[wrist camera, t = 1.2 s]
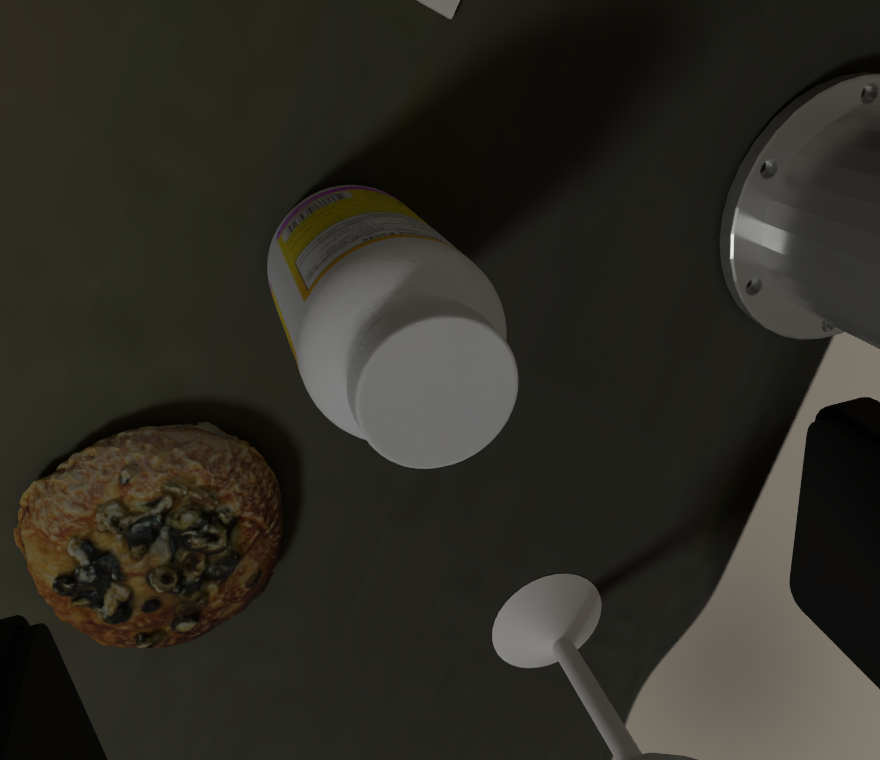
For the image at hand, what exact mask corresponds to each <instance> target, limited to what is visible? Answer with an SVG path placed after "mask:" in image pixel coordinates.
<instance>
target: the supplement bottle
mask: <svg viewBox="0 0 880 760" xmlns="http://www.w3.org/2000/svg"><path fill="white" fill-rule="evenodd" d="M267 270H268V281H269V285H270V290H271V293H272V297H273V299H274V302H275V305H276V308H277V311H278V313H279V316H280V318H281V321H282V324H283V327H284V330H285V332H286V335H287V338H288V340H289V343H290V346H291V348H292V351H293V354H294V357H295V360H296V363H297V366H298V369H299V372H300V374H301V377H302V379H303V382H304V384H305V387H306V389H307V391H308V393H309V395H310V396H311V398H312V400H313V401H314V403H315V404H316V406H317V407H318V408H319V409H320V410H321V412H322V413H323V414H324V415H325V416H326V417H327V418H328V419H329V420H330V421H332V422H333V423H334V424H335V425H337V426H338V427H340V428H341V429H343V430H344V431H346V432H348V433H350V434H352V435H354V436H357V437H359V438H362V439H365V440H367V441H368V443H369V444H370V445H371V446H372V447H373V448H374V449H375V450H376V451H377V452H378V453H379V454H381V455H382V456H383V457H385V458H387V459H388V460H390V461H392V462H395V463H397V464H399V465H402V466H406V467H411V468H421V469H429V468H438V467H443V466H448V465H452V464H455V463H458V462H460V461H463V460H465V459H467V458H469V457H471V456H472V455H474V454H475V453H477V452H479V451H480V450H481V449H483V448H484V447H485V446H486V445H488V444H489V443H490V442H491V441H492V440H493V439H494V438H495V437H496V435H497V434H498V433H499V432H500V430H501V429H502V428H503V426H504V425H505V423H506V422H507V420H508V418H509V416H510V414H511V412H512V410H513V407H514V404H515V401H516V397H517V391H518V371H517V365H516V361H515V358H514V355H513V353H512V350H511V349H510V347H509V345H508V344H507V342H506V322H505V316H504V312H503V308H502V305H501V302H500V299H499V297H498V295H497V293H496V290H495V289H494V287H493V285H492V284H491V282H490V281H489V279H488V278H487V277H486V275H485V274H484V273H483V272H482V271H481V270H480V269H479V268H478V267H477V266H476V265H475V264H474V263H473V262H472V261H471V260H470V259H468V258H467V257H466V256H465V255H464V254H463V253H462V252H460V251H459V250H458V249H457V248H455V247H454V246H453V245H452V244H450V243H449V242H448V241H447V240H446V239H445V238H443V237H442V236H441V235H440V234H439V233H438V232H436V231H435V230H434V229H433V228H431V227H430V226H429V225H428V224H427V223H426V222H424V221H423V220H422V219H421V218H420V217H419V216H417V215H416V214H415V213H414V212H413V211H411V210H410V209H409V208H408V207H407V206H405V205H404V204H403V203H402V202H400V201H399V200H397V199H396V198H394V197H393V196H391V195H389V194H387V193H385V192H383V191H381V190H378V189H375V188H371V187H366V186H359V185H342V186H336V187H331V188H327V189H324V190H321V191H319V192H317V193H315V194H312V195H310V196H309V197H307V198H306V199H304V200H303V201H301V202H300V203H299V204H298V205H296V206H295V207H294V208H293V209H292V210H291V211H290V212H289V213H288V214H287V215H286V217H285V218H284V219H283V221H282V222H281V224H280V225H279V227H278V229H277V231H276V233H275V235H274V237H273V239H272V242H271V245H270V249H269V254H268V264H267Z"/></svg>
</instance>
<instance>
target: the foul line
mask: <svg viewBox="0 0 880 760" xmlns="http://www.w3.org/2000/svg"><path fill="white" fill-rule="evenodd" d="M417 1H418V2H420V3H422V4H424V5H425V6H427V7H429V8H431V9H432V10H434V11H436V12H438V13H439V14H441V15H443V16H445V17H446V18H448V19H452V17H453V15H454V13H455V11H456V8H457V6H458V4H459V1H460V0H417Z"/></svg>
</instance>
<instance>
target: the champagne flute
mask: <svg viewBox="0 0 880 760" xmlns="http://www.w3.org/2000/svg"><path fill="white" fill-rule="evenodd" d="M601 606H602V604H601V598H600V595H599V592H598V590H597V588H596V587H595V586H594V585H593V584H592V583H591V582H590V581H588V580H587V579H585V578H583V577H581V576H578V575H573V574H554V575H550V576H545V577H542V578H540V579H537V580H535V581H533V582H531V583H529V584H527V585H526V586H524V587H522V588H521V589H520V590H519V591H517V592H516V593H515V594H513V595H512V597H511V598H510V599H509V600H508V601H507V602H506V603H505V604H504V606H503V607H502V608H501V610H500V611H499V613H498V615H497V618H496V620H495V622H494V626H493V630H492V641H493V645H494V648H495V650H496V652H497V654H498V655H499V656H500V657H501V658H502V659H503V660H504V661H506V662H508V663H509V664H511V665H514V666H518V667H523V668H536V667H542V666H546V665H550V664H553V663H555V662H558V661H559V663H560V664H561V666H562V668H563V670H564V671H565V673H566V675H567V676H568V678H569V680H570V682H571V683H572V685H573V687H574V688H575V690H576V692H577V694H578V695H579V697H580V699H581V700H582V702H583V704H584V706H585V707H586V709H587V711H588V712H589V714H590V716H591V718H592V719H593V721H594V723H595V724H596V726H597V728H598V730H599V731H600V733H601V735H602V736H603V738H604V740H605V742H606V743H607V745H608V747H609V748H610V750H611V752H612V754H613V755H614V757H615V759H616V760H696V759H693V758H690V757H686V756H680V755H670V754H659V753H646V754H642V753H641V752H640V750H639V748H638V747H637V745H636V743H635V742H634V740H633V739H632V737H631V735H630V734H629V732H628V731H627V729H626V727H625V726H624V724H623V723H622V721H621V719H620V718H619V716H618V714H617V713H616V711H615V710H614V708H613V706H612V705H611V703H610V702H609V700H608V698H607V697H606V695H605V694H604V692H603V690H602V689H601V687H600V686H599V684H598V682H597V681H596V679H595V678H594V676H593V674H592V673H591V671H590V669H589V668H588V666H587V665H586V663H585V661H584V660H583V658H582V657H581V655H580V653H579V652H578V650H577V649H579V648H580V647H581V646H582V645H583V644H584V643H585V642H586V641H587V639H588V638H589V637H590V635H591V634H592V633H593V631H594V629H595V627H596V626H597V624H598V621H599V618H600V614H601Z"/></svg>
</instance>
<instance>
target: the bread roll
mask: <svg viewBox="0 0 880 760" xmlns="http://www.w3.org/2000/svg"><path fill="white" fill-rule="evenodd" d="M20 505H21V507H20V510H19V512H18V521H19V523H18V525H17V527H15V528H14V536H15V542H16V545H17V547H19V548H20V550H21V551H22V553H23V555H24V557H25V559H26V560H27V567H28V571H29V573H30V575H31V576H32V577H33V580H34V582H35V585H36V587H37V590H38V593H39V594H40V595H41V596H43V597H44V598H45V600H46V602H47V603H48V604H49V605H50V606H52V607H53V608H54V610H55V614H56V616H58V617H59V618H60V619H61V620H62V621H64V622H68V623H70V624H71V625H72V626H74V627H75V628H76V629H78V630H79V631H80V632H82V633H84V634H87V635H89V636H90V637H91V638H93V639H94V640H95V641H97V642H98V643H100V644H102V645H104V646H117V647H121V648H126V647H138V648H140V649H141V648H148V649H154V648H159V647H163V648H164V647H168V646H173V645H178V644H181V643H186V642H191V641H193V640H195V639H196V638H198V637H200V636H202V635H203V634H205V633H207V632H209V631H211V630H212V629H214V628H215V627H217V626H218V625H220V624H221V623H222V622H224V621H228V620H230V619H231V618H232V617H234V616H235V615H236V614H238V613H240V612H242V611H244V609H245V608H246V607H247V606H248V605H249V604H250V603H251V602H252V601H253V600H254V599H256V598H258V597H259V596H260V595H261V594H262V593H263V592H264V590H265V588H266V587H267V585H268V583H269V581H270V579H271V577H272V576H273V573H274V570H275V568H276V566H277V559H278V555H279V552H280V547H281V540H282V534H283V507H282V499H281V492H280V489H279V483H278V481H277V479H276V477H275V475H274V473H273V471H272V470H271V468H270V467H269V466H268V464H267V463H266V461H265V460H264V458H263V456H262V454H260V453H259V452H258V451H257V450H256V449H255V448H254V447H251V446H249V443H248V442H247V441H243V440H239V439H238V437H236V436H232V437H231V436H230V435H229V434H226V433H225V431H223V430H221V429H219V428H218V427H217V426H216V425H212V424H211V423H209V422H204V423H200V422H198V425H192V424H189V423H188V424H183V425H180V424H179V425H171V426H170V425H166V426H159V427H153V426H148V427H141V428H138V429H131V430H127V431H124V432H121V433H118V434H115V435H113V436H111V437H108V438H106V439H103V440H99V441H97V442H96V443H95V444H94V445H92V446H90V447H87V448H86V449H85V450H82V451H80V452H79V453H74V454H72V455H71V456H70V458H69V459H68V460H67V461H65V462H63V463H61V464H60V465H59V466H58V468H57V469H56V471H55V472H53V473H52V474H50V475H49V476H47V477H45V478H42V479H39V480H36V481H34V482H33V483H32V484H31V485H30V487H29V488H28V489H27V490H26V491H25V492H24V493H23V495H22V497H21V499H20Z"/></svg>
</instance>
